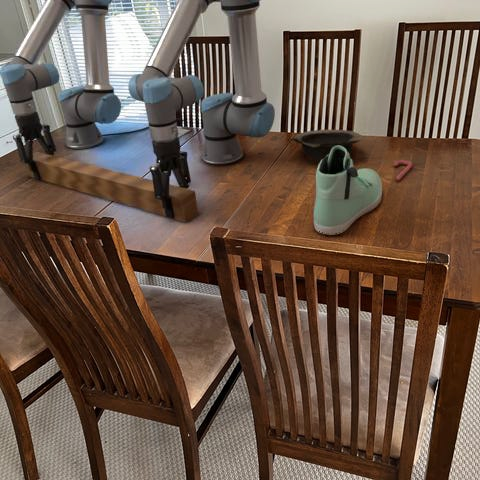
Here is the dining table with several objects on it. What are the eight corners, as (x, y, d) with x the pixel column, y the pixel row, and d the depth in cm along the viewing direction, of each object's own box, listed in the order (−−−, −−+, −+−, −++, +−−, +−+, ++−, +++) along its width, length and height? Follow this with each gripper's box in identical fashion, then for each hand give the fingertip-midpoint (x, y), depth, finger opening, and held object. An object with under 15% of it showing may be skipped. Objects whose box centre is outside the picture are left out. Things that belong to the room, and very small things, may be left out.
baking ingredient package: (154, 138, 201) (173, 127, 213) (154, 139, 202) (173, 128, 213) (171, 140, 198) (190, 129, 209) (171, 141, 198) (190, 130, 209)
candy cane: (380, 178, 154) (381, 174, 154) (397, 162, 164) (397, 158, 164) (399, 182, 151) (399, 178, 150) (414, 165, 161) (415, 161, 161)
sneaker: (389, 187, 148) (396, 123, 138) (356, 242, 123) (361, 168, 112) (346, 181, 154) (350, 119, 144) (306, 232, 129) (307, 161, 118)
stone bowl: (320, 174, 160) (319, 147, 155) (281, 157, 180) (279, 132, 176) (378, 156, 168) (378, 130, 164) (334, 141, 189) (333, 118, 184)
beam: (29, 176, 177) (23, 157, 172) (43, 170, 181) (37, 151, 176) (185, 222, 139) (182, 198, 135) (198, 213, 143) (195, 190, 139)
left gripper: (7, 122, 155) (29, 187, 167) (55, 106, 168) (72, 167, 180) (-6, 120, 159) (16, 183, 171) (42, 104, 172) (59, 164, 184)
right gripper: (151, 152, 123) (165, 229, 135) (197, 129, 135) (206, 201, 148) (130, 148, 126) (146, 223, 139) (177, 125, 139) (187, 196, 151)
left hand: (45, 175), depth 175 cm, fingers closed on beam, 6 cm apart
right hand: (177, 212), depth 143 cm, fingers closed on beam, 6 cm apart
